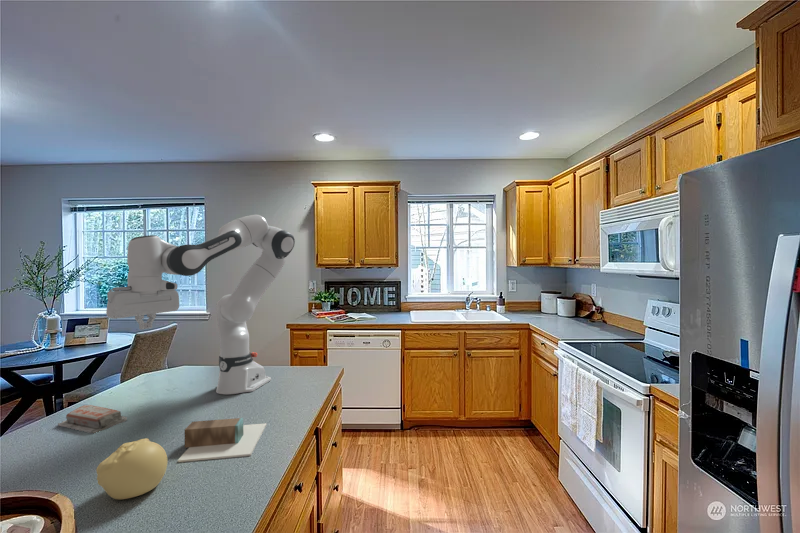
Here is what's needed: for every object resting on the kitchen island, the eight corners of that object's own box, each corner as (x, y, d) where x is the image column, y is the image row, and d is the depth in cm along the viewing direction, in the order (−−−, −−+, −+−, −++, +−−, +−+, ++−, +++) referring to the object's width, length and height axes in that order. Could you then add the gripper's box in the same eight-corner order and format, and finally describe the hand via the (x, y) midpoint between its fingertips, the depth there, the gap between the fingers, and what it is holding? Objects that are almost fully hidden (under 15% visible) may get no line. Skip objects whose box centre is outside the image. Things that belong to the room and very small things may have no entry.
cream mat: (177, 462, 89) (177, 460, 89) (206, 429, 106) (206, 428, 106) (250, 455, 91) (250, 453, 91) (266, 424, 109) (266, 423, 109)
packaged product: (128, 407, 114) (93, 420, 104) (128, 421, 114) (93, 436, 104) (93, 400, 120) (56, 412, 110) (93, 414, 120) (57, 427, 110)
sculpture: (130, 474, 84) (129, 430, 84) (178, 474, 83) (177, 430, 83) (86, 507, 72) (85, 456, 72) (141, 507, 72) (140, 456, 72)
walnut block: (184, 429, 95) (237, 425, 97) (192, 421, 100) (243, 417, 102) (184, 447, 95) (238, 443, 97) (192, 438, 100) (243, 434, 102)
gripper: (114, 287, 99) (115, 335, 99) (182, 284, 118) (182, 324, 118) (100, 287, 101) (101, 334, 101) (169, 283, 120) (170, 323, 120)
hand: (145, 328), depth 110 cm, fingers closed
